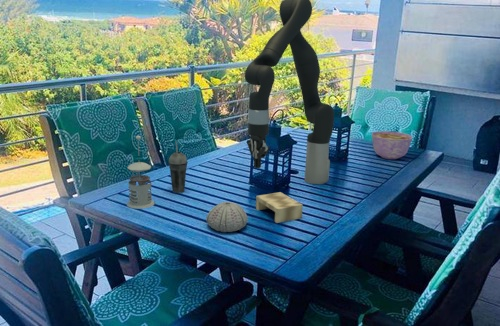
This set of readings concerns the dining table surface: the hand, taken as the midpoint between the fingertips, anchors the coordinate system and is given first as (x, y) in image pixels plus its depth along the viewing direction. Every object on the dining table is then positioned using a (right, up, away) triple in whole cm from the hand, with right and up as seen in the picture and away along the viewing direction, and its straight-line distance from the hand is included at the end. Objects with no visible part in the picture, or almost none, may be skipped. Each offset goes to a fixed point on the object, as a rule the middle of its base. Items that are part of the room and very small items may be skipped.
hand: (257, 167), depth 176 cm
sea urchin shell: (-10, -19, -22) cm, 31 cm away
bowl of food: (+69, +4, +68) cm, 97 cm away
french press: (-42, -13, -4) cm, 44 cm away
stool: (+4, -12, -5) cm, 13 cm away
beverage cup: (-30, -9, +9) cm, 33 cm away
